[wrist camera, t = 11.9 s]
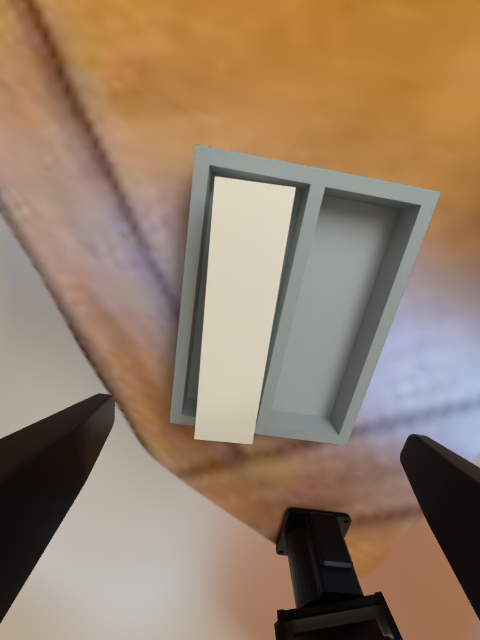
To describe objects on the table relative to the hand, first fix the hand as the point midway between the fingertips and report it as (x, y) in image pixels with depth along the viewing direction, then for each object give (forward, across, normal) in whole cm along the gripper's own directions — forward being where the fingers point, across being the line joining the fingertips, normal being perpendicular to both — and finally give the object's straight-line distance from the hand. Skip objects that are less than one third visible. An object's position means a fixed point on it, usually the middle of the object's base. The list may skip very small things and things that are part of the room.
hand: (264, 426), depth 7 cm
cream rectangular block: (+11, +1, -1) cm, 11 cm away
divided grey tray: (+12, -2, -1) cm, 12 cm away
